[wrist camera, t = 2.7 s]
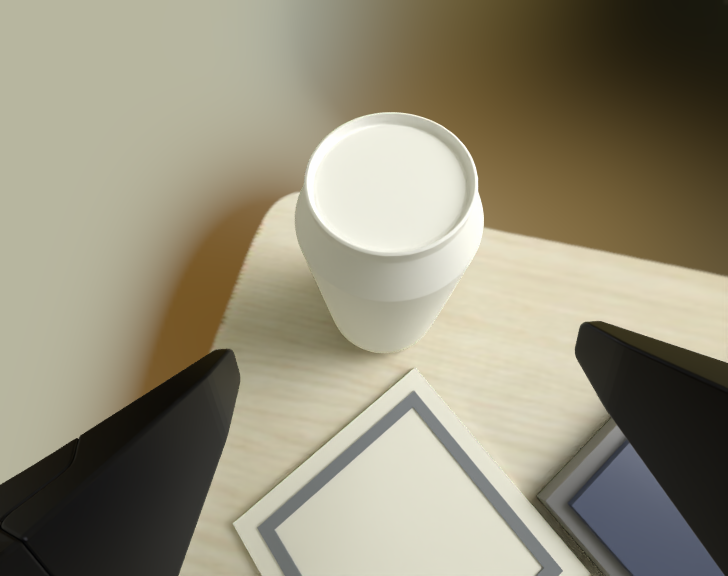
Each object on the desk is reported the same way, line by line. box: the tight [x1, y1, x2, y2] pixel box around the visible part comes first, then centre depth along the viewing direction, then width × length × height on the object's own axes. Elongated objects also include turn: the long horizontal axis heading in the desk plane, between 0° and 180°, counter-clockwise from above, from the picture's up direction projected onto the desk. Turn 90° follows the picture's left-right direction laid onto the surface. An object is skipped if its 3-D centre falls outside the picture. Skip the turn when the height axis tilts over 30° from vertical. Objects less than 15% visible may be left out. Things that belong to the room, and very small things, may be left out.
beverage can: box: [295, 112, 484, 353], centre depth 15 cm, size 6×6×12 cm
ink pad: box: [537, 418, 724, 576], centre depth 16 cm, size 11×9×1 cm
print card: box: [233, 367, 590, 576], centre depth 16 cm, size 12×12×1 cm
